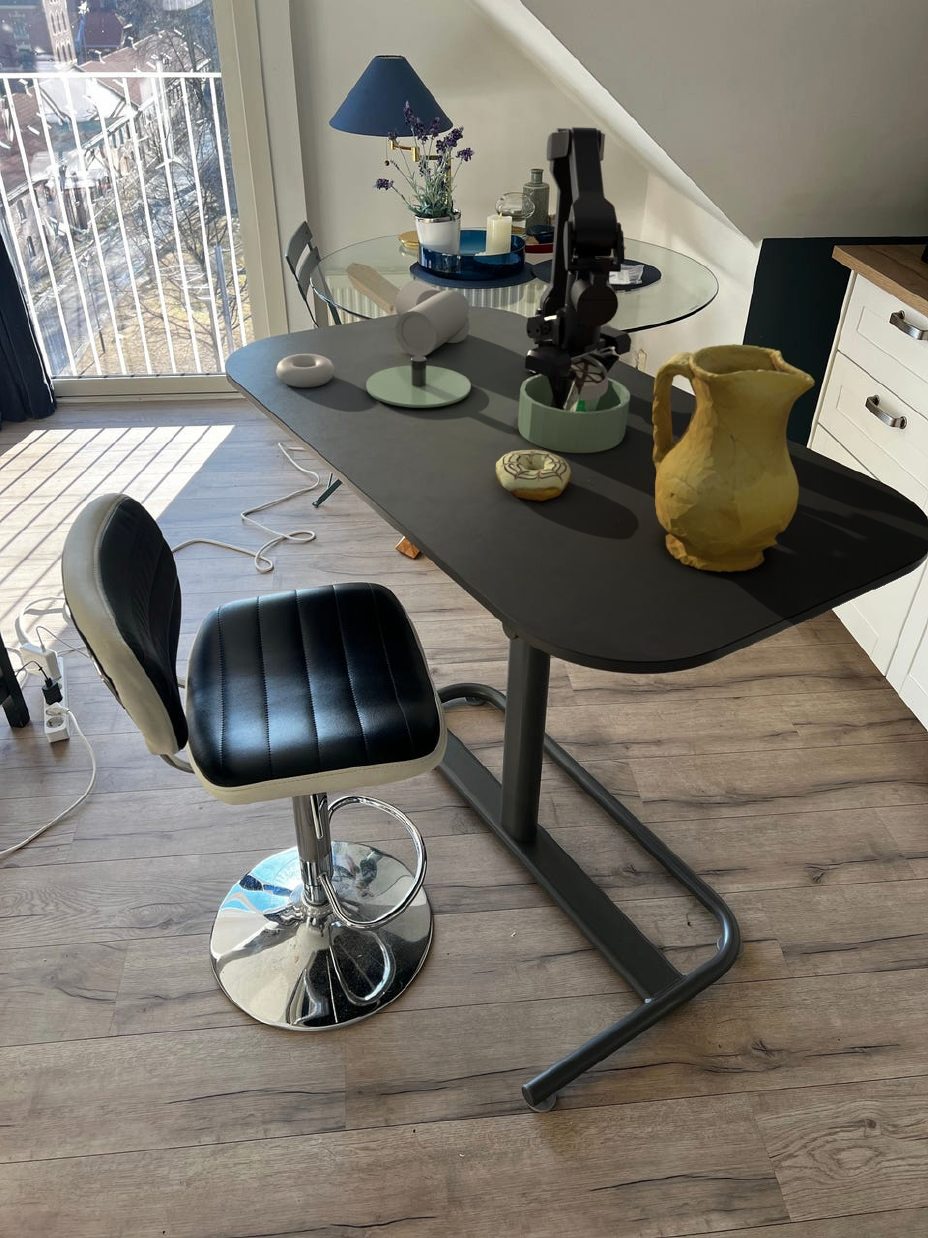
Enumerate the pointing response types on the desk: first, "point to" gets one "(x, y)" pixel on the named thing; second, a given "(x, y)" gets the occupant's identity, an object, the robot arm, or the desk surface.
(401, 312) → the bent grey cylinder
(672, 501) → the pitcher
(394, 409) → the desk surface
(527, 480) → the decorated donut
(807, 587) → the desk surface
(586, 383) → the food container
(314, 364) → the donut
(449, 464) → the desk surface
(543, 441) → the pot
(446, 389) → the lid
